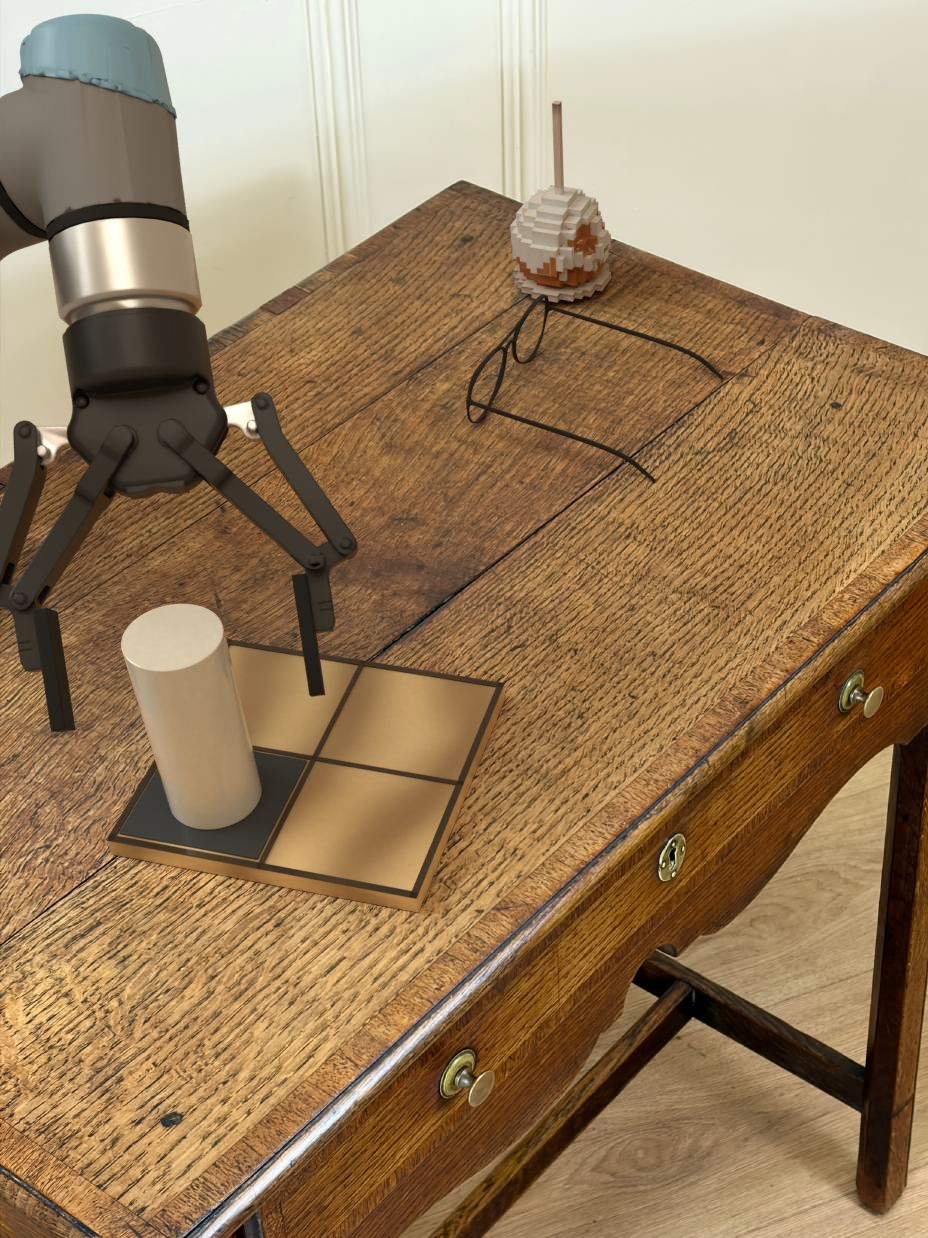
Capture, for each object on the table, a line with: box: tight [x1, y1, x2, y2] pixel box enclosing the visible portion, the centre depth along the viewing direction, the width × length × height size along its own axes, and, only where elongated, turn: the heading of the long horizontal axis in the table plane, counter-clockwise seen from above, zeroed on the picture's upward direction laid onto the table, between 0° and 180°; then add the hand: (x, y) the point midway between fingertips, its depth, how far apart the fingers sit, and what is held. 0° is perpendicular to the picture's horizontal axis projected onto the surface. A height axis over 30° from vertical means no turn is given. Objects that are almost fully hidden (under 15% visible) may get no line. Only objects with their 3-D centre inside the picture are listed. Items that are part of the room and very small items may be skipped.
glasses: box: [465, 294, 724, 483], centre depth 116 cm, size 14×15×5 cm
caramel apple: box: [509, 100, 612, 303], centre depth 125 cm, size 8×8×15 cm
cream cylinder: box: [120, 603, 262, 830], centre depth 85 cm, size 5×5×12 cm
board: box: [105, 638, 506, 913], centre depth 92 cm, size 18×17×1 cm
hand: (191, 713), depth 86 cm, fingers open, 13 cm apart
